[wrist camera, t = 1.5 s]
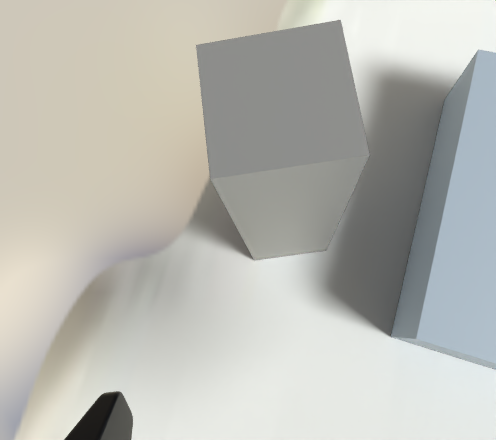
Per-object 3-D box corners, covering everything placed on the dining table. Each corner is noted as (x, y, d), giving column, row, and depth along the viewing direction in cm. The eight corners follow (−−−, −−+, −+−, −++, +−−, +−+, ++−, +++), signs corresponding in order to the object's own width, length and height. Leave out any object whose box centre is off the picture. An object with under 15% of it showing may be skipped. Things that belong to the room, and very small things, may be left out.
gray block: (326, 250, 23) (369, 154, 10) (254, 260, 23) (210, 179, 10) (314, 182, 24) (340, 19, 11) (245, 192, 24) (196, 45, 12)
